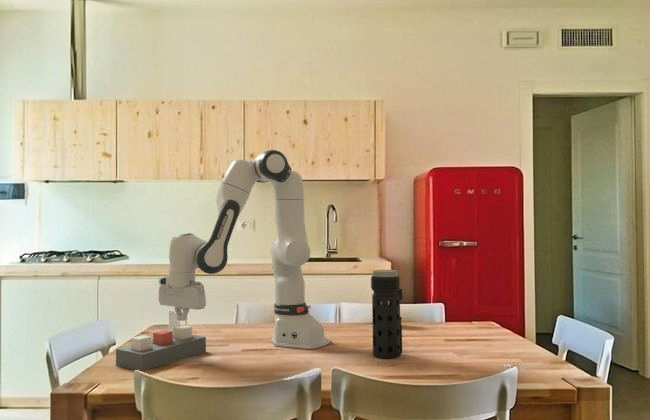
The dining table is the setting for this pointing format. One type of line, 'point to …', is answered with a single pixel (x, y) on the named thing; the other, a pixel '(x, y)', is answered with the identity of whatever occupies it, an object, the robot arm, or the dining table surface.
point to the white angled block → (173, 320)
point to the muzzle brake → (386, 314)
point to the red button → (162, 337)
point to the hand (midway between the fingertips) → (181, 320)
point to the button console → (160, 353)
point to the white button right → (182, 332)
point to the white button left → (141, 343)
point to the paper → (505, 365)
